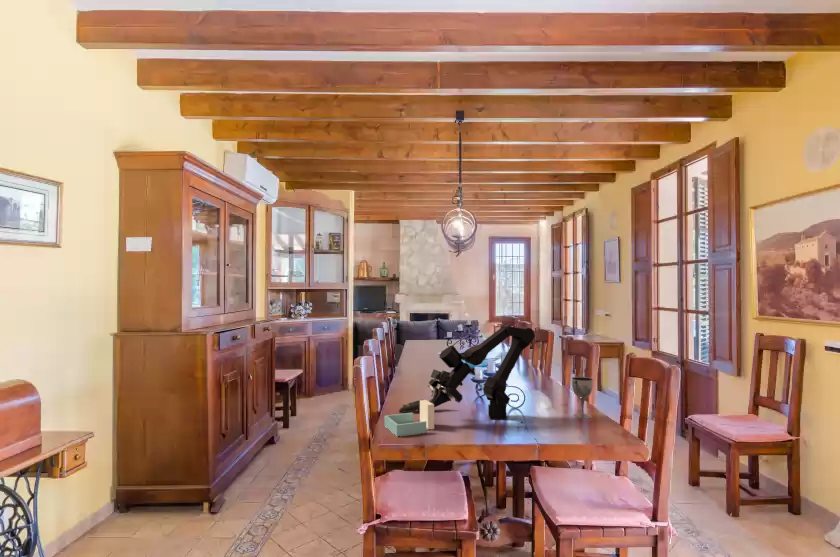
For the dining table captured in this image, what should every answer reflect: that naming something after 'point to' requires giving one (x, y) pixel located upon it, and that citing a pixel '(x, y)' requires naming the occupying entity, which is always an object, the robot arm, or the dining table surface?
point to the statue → (411, 406)
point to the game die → (432, 390)
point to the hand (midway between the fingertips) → (430, 407)
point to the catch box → (404, 425)
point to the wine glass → (582, 392)
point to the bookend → (427, 413)
